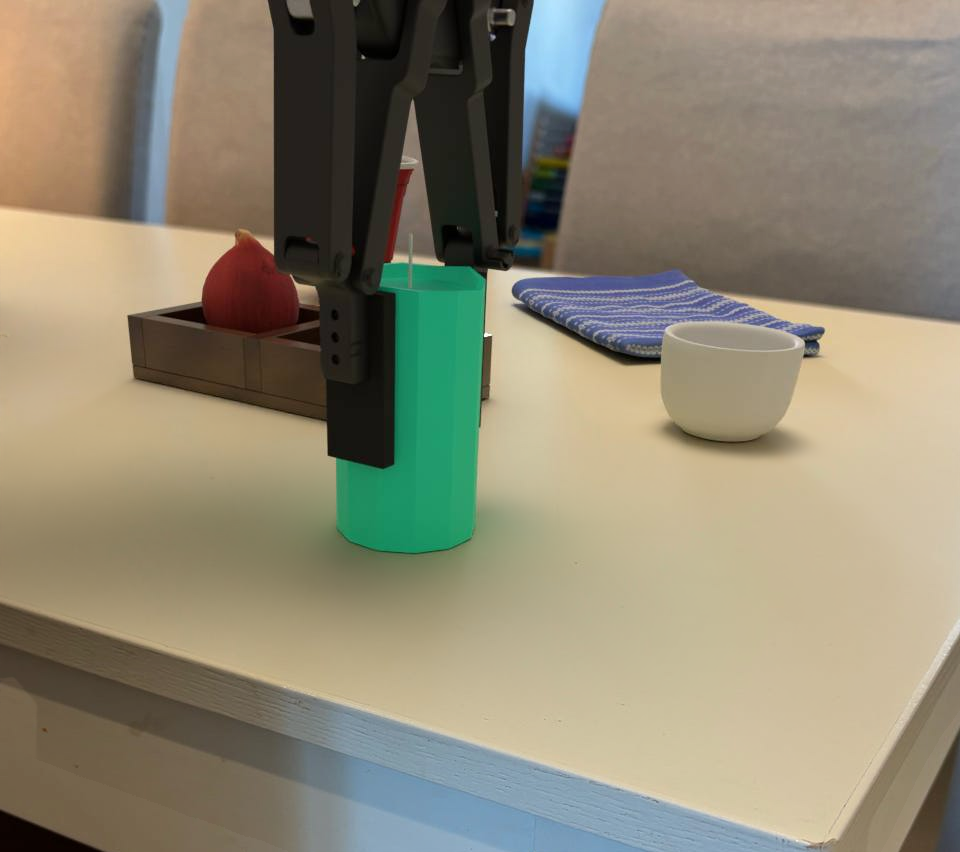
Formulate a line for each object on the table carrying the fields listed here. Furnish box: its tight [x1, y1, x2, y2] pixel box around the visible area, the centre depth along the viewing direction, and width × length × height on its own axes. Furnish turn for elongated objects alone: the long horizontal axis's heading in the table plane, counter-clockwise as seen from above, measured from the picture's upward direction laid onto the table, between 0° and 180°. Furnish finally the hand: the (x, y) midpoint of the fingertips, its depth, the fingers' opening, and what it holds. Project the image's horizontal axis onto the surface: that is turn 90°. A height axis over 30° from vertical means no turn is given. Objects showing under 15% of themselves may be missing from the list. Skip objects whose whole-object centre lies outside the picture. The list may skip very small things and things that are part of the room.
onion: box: [201, 228, 300, 334], centre depth 68 cm, size 6×6×8 cm
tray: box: [126, 300, 493, 421], centre depth 67 cm, size 20×10×4 cm, turn 59°
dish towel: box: [511, 269, 826, 359], centre depth 89 cm, size 17×24×3 cm
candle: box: [335, 233, 486, 554], centre depth 45 cm, size 6×6×12 cm
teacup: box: [659, 322, 805, 443], centre depth 63 cm, size 10×8×5 cm
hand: (407, 439), depth 46 cm, fingers closed on candle, 6 cm apart
